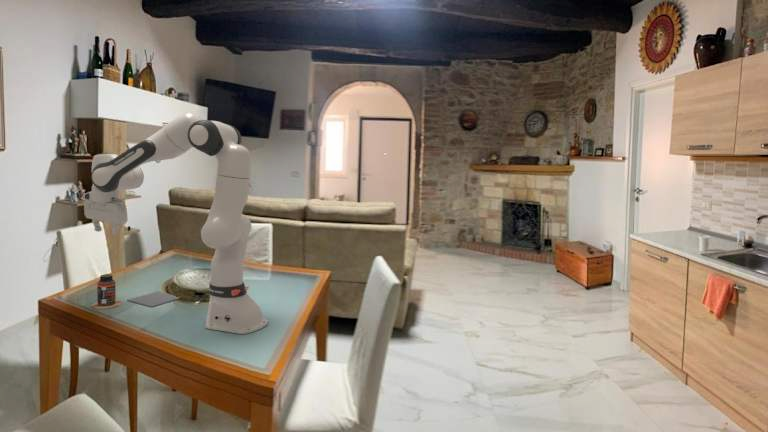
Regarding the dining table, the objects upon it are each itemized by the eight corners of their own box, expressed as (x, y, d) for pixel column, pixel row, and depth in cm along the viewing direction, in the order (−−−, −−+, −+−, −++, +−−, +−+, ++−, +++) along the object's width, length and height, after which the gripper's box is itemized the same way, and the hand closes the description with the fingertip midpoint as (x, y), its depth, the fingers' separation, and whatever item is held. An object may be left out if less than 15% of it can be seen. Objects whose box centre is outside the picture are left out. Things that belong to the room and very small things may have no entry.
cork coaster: (127, 303, 178) (127, 302, 178) (102, 310, 169) (102, 310, 169) (110, 299, 182) (110, 298, 182) (85, 305, 173) (85, 305, 173)
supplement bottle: (107, 307, 172) (106, 278, 170) (93, 305, 173) (93, 276, 171) (119, 302, 177) (118, 274, 176) (106, 300, 179) (105, 272, 177)
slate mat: (181, 298, 187) (181, 297, 187) (151, 307, 175) (151, 306, 175) (157, 292, 193) (157, 291, 193) (127, 301, 181) (127, 299, 181)
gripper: (132, 198, 169) (132, 235, 170) (97, 193, 177) (97, 228, 179) (115, 199, 163) (115, 237, 165) (80, 194, 171) (80, 230, 173)
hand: (106, 232), depth 172 cm, fingers open, 8 cm apart
